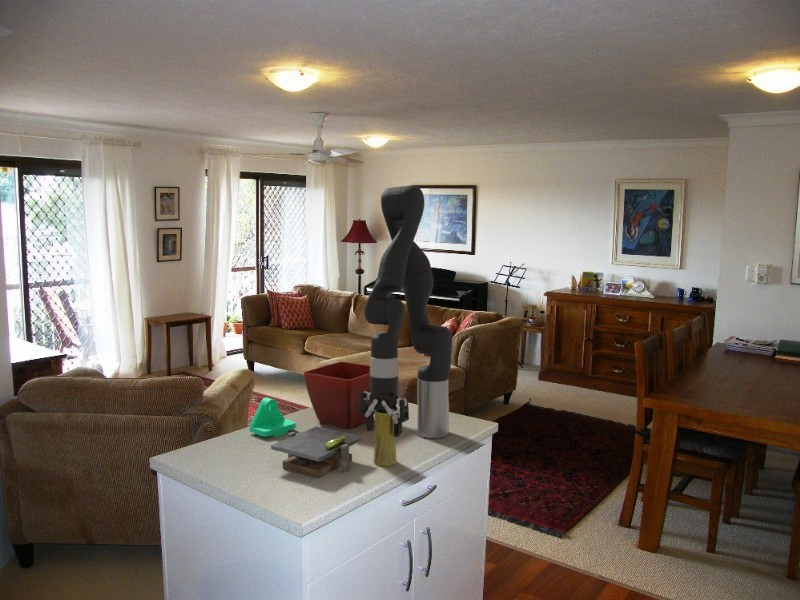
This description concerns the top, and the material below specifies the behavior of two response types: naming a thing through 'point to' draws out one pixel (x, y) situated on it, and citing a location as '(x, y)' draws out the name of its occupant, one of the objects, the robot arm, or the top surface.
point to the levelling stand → (319, 463)
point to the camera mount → (270, 420)
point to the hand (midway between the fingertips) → (383, 433)
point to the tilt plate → (316, 443)
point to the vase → (384, 440)
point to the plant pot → (338, 392)
